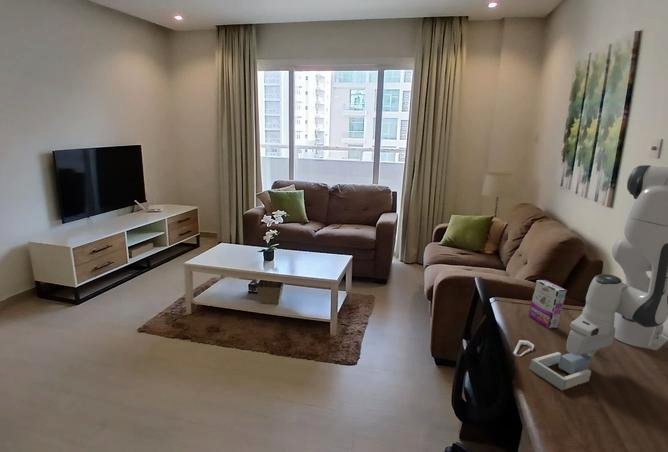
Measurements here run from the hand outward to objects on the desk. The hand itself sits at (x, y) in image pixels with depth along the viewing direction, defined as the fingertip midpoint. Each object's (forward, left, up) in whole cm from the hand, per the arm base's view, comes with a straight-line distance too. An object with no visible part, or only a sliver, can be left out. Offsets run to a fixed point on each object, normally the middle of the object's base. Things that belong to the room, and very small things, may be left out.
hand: (586, 360), depth 134 cm
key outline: (+11, -15, -3) cm, 19 cm away
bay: (+13, 0, -2) cm, 13 cm away
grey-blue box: (+6, 0, -2) cm, 7 cm away
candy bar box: (-15, -27, -2) cm, 31 cm away
